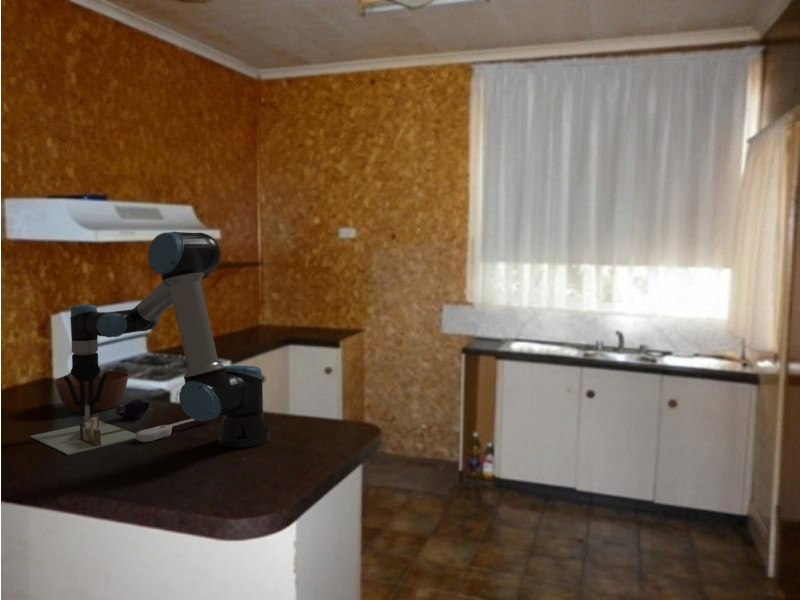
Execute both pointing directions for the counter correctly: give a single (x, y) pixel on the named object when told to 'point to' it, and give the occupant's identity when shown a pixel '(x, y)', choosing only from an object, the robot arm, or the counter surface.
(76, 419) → the counter surface
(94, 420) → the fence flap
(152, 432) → the spatula
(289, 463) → the counter surface
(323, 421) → the counter surface
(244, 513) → the counter surface
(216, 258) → the robot arm
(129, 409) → the toy
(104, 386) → the bowl
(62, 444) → the card
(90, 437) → the fence fixed
